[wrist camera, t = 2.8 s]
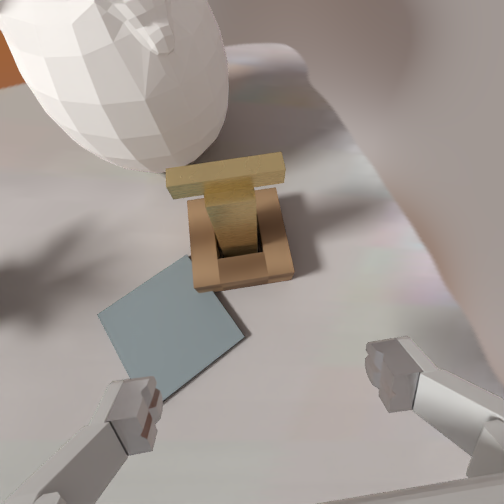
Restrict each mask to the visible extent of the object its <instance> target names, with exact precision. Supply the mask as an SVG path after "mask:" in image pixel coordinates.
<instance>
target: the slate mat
mask: <svg viewBox="0 0 504 504" xmlns="http://www.w3.org/2000/svg"><path fill="white" fill-rule="evenodd" d="M97 315H98V317H99V319H100V321H101V323H102V325H103V327H104V329H105V331H106V333H107V335H108V336H109V338H110V340H111V342H112V344H113V346H114V348H115V350H116V352H117V354H118V356H119V358H120V360H121V362H122V364H123V366H124V367H125V369H126V371H127V373H128V375H129V377H130V379H132V378H140V377H147V376H154V377H155V379H156V381H157V384H156V388H157V389H158V390H160V392H161V394H162V399H163V401H164V400H165V399H166V398H168V397H169V396H170V395H171V394H173V393H174V392H175V391H177V390H178V389H179V388H180V387H182V386H183V385H184V384H185V383H187V382H188V381H189V380H191V379H192V378H193V377H194V376H196V375H197V374H198V373H200V372H201V371H202V370H203V369H205V368H206V367H207V366H208V365H210V364H211V363H212V362H214V361H215V360H216V359H217V358H219V357H220V356H221V355H223V354H224V353H225V352H226V351H228V350H229V349H230V348H231V347H233V346H234V345H235V344H237V343H238V342H239V341H240V340H242V339H243V338H244V337H245V336H244V335H243V334H242V332H241V331H240V329H239V328H238V326H237V325H236V324H235V322H234V321H233V319H232V318H231V316H230V315H229V314H228V312H227V311H226V309H225V308H224V307H223V305H222V304H221V302H220V301H219V299H218V298H217V297H216V295H215V294H214V292H213V291H210V292H204V293H198V292H197V291H196V290H195V289H194V285H193V272H192V261H191V260H190V258H189V257H188V255H185V256H184V257H182V258H181V259H179V260H178V261H176V262H175V263H173V264H172V265H170V266H169V267H167V268H166V269H164V270H163V271H161V272H160V273H158V274H157V275H155V276H154V277H152V278H151V279H149V280H148V281H146V282H145V283H143V284H142V285H140V286H139V287H137V288H136V289H135V290H133V291H132V292H130V293H129V294H127V295H126V296H124V297H123V298H121V299H120V300H118V301H117V302H115V303H114V304H112V305H111V306H109V307H108V308H106V309H105V310H103V311H102V312H100V313H99V314H97Z"/></svg>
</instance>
